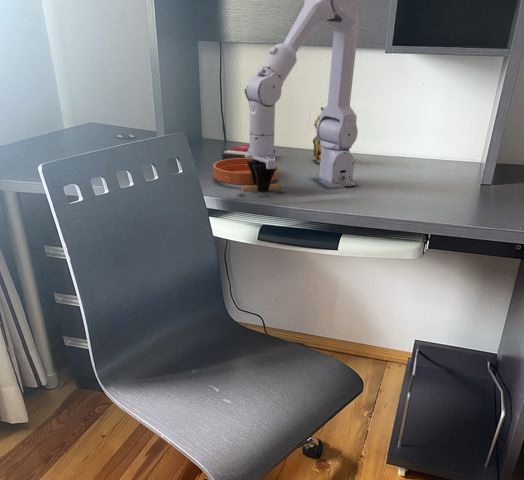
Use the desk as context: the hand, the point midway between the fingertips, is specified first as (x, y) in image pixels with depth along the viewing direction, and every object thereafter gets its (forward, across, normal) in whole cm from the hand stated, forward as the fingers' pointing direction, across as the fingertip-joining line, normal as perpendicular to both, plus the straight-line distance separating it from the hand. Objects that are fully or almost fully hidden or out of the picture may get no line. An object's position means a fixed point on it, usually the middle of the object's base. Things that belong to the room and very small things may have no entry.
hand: (261, 192), depth 131 cm
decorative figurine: (-7, -28, +30) cm, 42 cm away
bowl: (0, -13, 0) cm, 13 cm away
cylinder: (0, 0, 0) cm, 0 cm away
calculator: (0, -32, +7) cm, 33 cm away
